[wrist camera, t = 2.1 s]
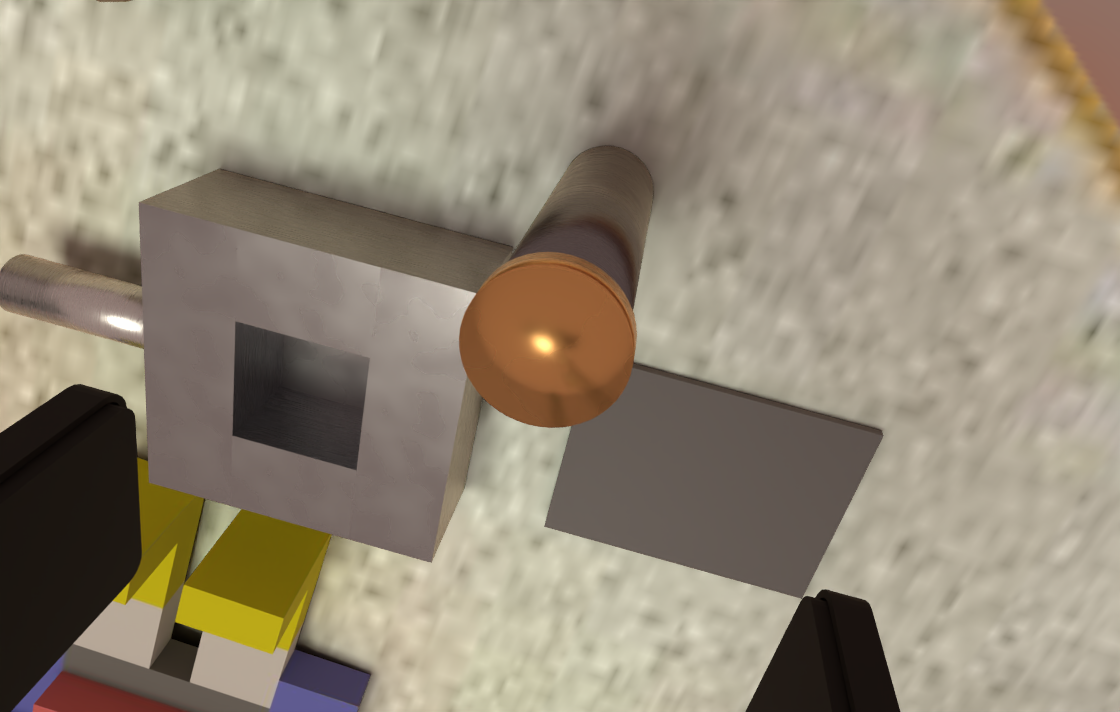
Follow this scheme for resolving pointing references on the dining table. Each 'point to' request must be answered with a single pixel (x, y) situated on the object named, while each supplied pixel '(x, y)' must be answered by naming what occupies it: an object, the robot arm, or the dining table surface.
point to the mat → (712, 479)
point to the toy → (204, 624)
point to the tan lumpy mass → (113, 0)
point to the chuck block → (291, 353)
